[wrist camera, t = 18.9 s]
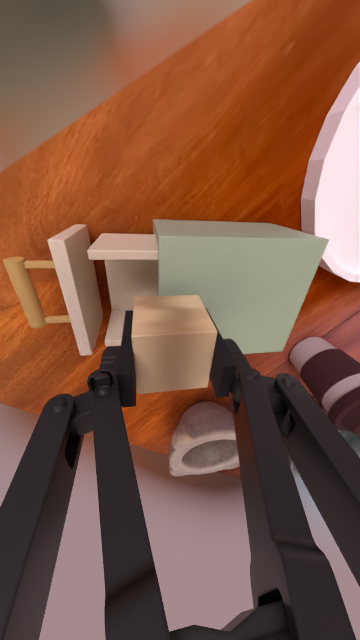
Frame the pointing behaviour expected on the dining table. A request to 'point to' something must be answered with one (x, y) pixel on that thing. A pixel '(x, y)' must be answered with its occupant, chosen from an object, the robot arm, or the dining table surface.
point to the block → (171, 343)
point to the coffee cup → (330, 380)
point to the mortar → (203, 441)
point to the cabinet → (240, 275)
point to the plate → (336, 184)
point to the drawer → (90, 281)
